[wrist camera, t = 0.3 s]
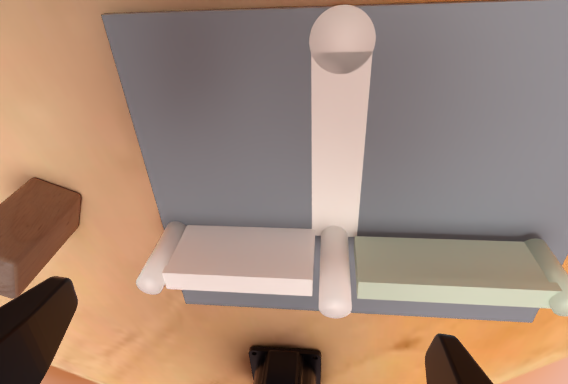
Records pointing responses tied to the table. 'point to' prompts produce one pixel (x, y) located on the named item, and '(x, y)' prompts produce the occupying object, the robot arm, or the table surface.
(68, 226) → the wooden blocks
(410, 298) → the swinging fence panel
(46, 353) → the robot arm
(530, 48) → the card
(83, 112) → the table surface
